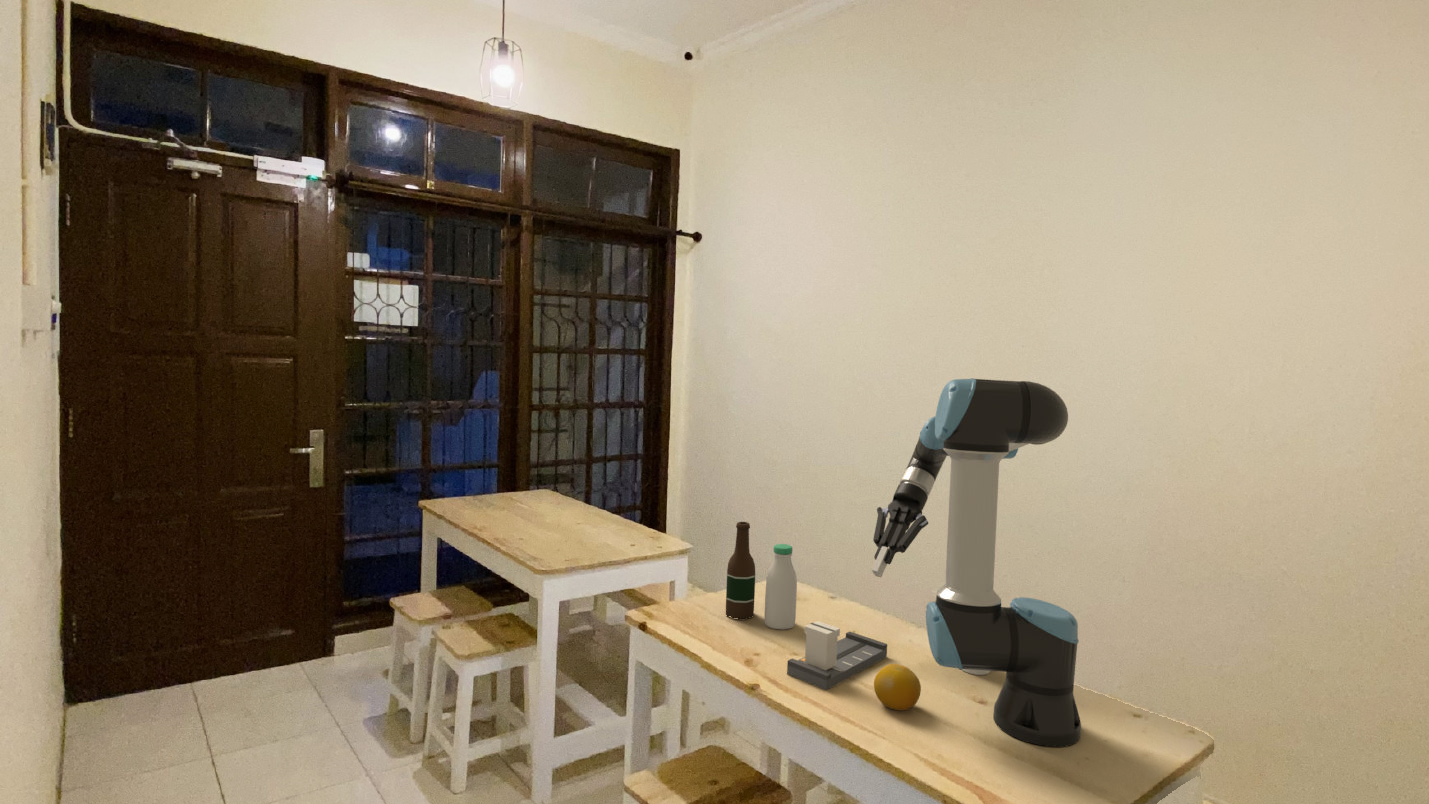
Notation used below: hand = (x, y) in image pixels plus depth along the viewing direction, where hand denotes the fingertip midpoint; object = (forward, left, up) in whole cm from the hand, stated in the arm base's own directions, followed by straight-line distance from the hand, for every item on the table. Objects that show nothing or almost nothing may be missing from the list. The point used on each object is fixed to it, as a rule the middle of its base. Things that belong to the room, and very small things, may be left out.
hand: (876, 573), depth 174 cm
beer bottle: (+23, +27, -18) cm, 40 cm away
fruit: (-27, +4, -18) cm, 33 cm away
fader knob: (-12, +16, -16) cm, 25 cm away
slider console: (-8, +10, -18) cm, 22 cm away
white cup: (-11, -20, -18) cm, 29 cm away
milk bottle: (+16, +18, -18) cm, 31 cm away
